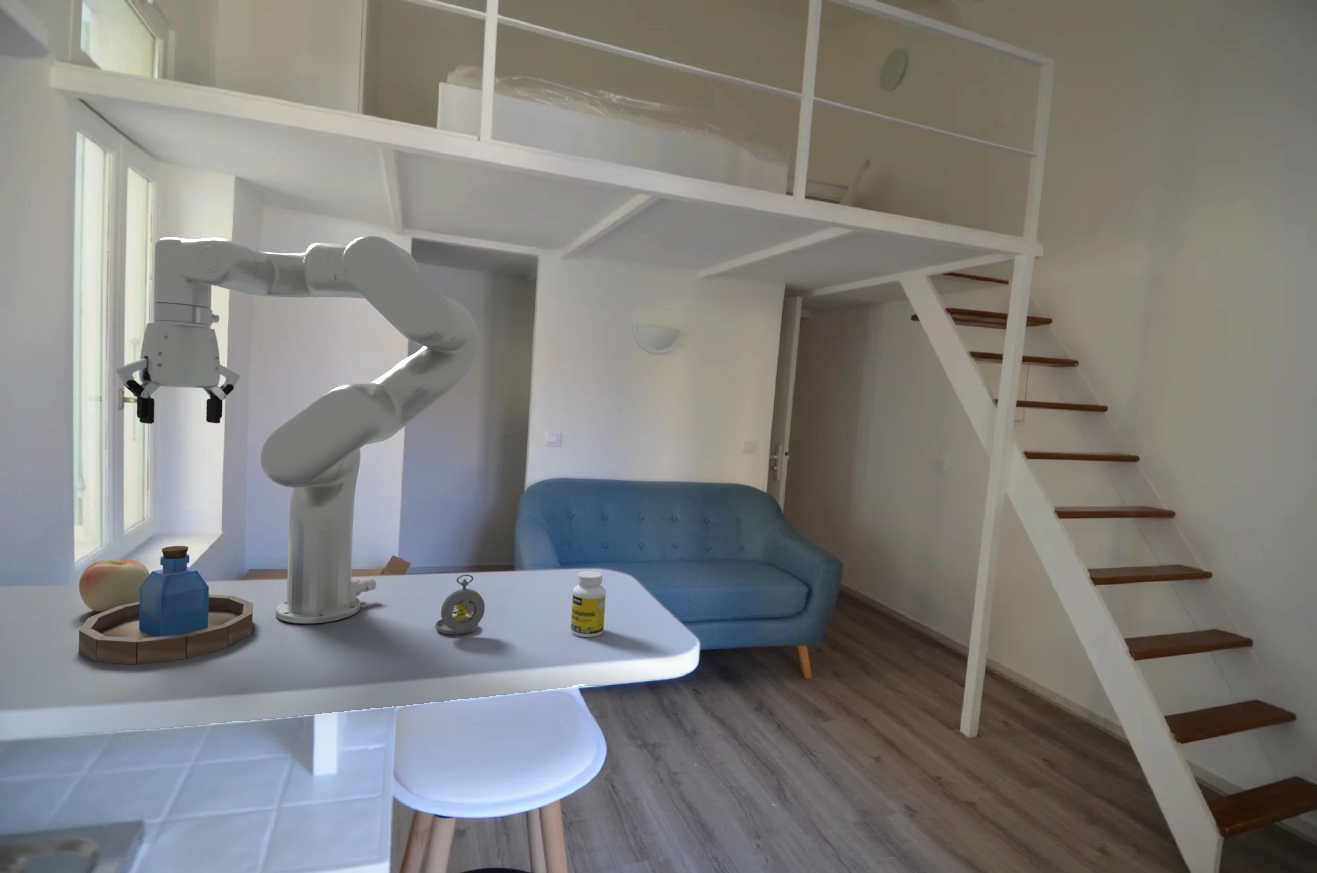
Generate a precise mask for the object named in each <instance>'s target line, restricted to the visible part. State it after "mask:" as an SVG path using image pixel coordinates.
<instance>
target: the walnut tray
mask: <svg viewBox="0 0 1317 873" xmlns="http://www.w3.org/2000/svg"><path fill="white" fill-rule="evenodd" d="M253 609H254V603H253V602H251V601H249V600H246V599H243V598H241V597H238V596H235V595H223V594H220V595H219V594H209V602H208V628H205V629H201V630H197V631H193V632H189V633H185V634H181V635H171V636H162V637H153V636H151V635H149V634H147V633H145V632H143V631H140V630H139V602H135V603H130V604H125V605H120V606H117V607H115V608H112V609H110V610H107V611H101V612H98V613H97V614H95V615H92V616H90V617H88V618H87V619H86V620H85V621H84V622H83V624H82V626H81V627H80V628H79V629H78V652H79V653H80V654H81V655H84V656H85V657H86V658H89V659H91V661H92V660H93V661H94V662H96V663H111V664H114V663H115V664H125V665H126V664H127V665H141V664H150V663H158V662H159V663H160V662H168V661H176V660H184V659H189V658H192V657H196V656H200V655H203V654H207V653H211V652H214V651H218V650H221V649H224V648H228V647H230V646H232V645H233V644H235V643H237V642H238V641H240V640H242V639H243V638H246V637H248V636H249V635H250V634H252V629H253V621H254V619H253V615H254V611H253Z"/></svg>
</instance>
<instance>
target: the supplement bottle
mask: <svg viewBox="0 0 1317 873" xmlns="http://www.w3.org/2000/svg"><path fill="white" fill-rule="evenodd" d="M577 583H578V584H577V585H575V586H574V587H573V590H572V595H571V596H572V600H571V616H570V632H571V633H572V634H573V635H574V636H577V637H581V638H595V637H599V636H600V635H602V634H603V633H604V630H605V629H604V625H605V609H606V593H607V591H606V588H605V587H603V586H602V585H601V584H603V574H602V572H599V571H595V570H583V571H580V572H578V573H577Z"/></svg>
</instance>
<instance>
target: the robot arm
mask: <svg viewBox="0 0 1317 873" xmlns="http://www.w3.org/2000/svg"><path fill="white" fill-rule="evenodd" d="M153 276H154V279H153V283H154V284H153V290H154V291H153V292H154V293H153V303H154V304H153V322H147V323H146V327H145V330H144V334H143V340H142V344H141V350H140V359H138V360H136V361H135V360H134V361H133V362H130V363H127V364H124V365H122V366H118V367H117V368H116V373H117V375H118V377H119V378H120V380H121V381H122V383H123V386H124V387H125V388H126V389H128V390H129V392H131V393H132V394H133V396H134V397H136V417H137V418H138V419H139V422H140V423H141V424H148V425H151V424H154V423H155V399H154V398H152V395H153V394H154V393H155V392H156V391H157V390H158V389H159V388H160V387H170V388H189V389H190V388H193V389H194V388H195V389H197V388H198V389H203V390H204V391H205V393H206V394H207V395H208V396H209V398H207V399H206V408H205V410H206V412H205V414H206V416H205V418H206V419H205V421H206V422H207V423H211V424H221V419H222V417H223V403H224V402H223V401H224V400H225V399H226V398H227V396H229V394H230V393H232V392H233V390H234V389H235V386H236V385H237V383H238V381H239V380H240V375H239V374H238V373H237V372H234V371H233V370H232V369H229V368H227V367H226V366H223V365H222V364H221V361H220V359H221V358H220V351H219V344H218V339H217V338H218V337H217V334H216V331H215V328H211V327H212V325H213V324H214V323H216V324H218V323H219V322H220V316H219V314H214V313H213V309H212V286H214V287H218V288H221V289H227V290H231V291H236V292H239V293H244V294H247V295H251V296H261V297H275V298H276V297H277V298H279V297H280V298H325V297H326V298H349V299H351V298H352V299H353V298H354V299H365V300H366V301H367V302H368V303H369V304H370V305H371V306H372V307H373V308H374V309H375V310H376V311H378V313H380V314H381V315H382V316H383V317H384V319H386V321H388V322H389V323H390V324H391V325H392V327H394V329H396V331H398V332H399V333H400V334H401V335H402V336H404V338H406V339H407V340H409V341H411V343H414V344H416V345H419V346H421V348H420V349H419V350H417V351H416V352H415V353H413V354H411V355H410V356H407V357H406V358H404V359H403V360H401V361H399V362H398V363H397V364H396V365H395V366H393V367H392V368H391V369H389V370H388V371H387V372H385V373H384V374H383V375H381V376H379V377H378V378H377V379H375V380H373V381H370V382H367V383H349V384H344V385H340V386H337V387H334V388H333V389H331V390H329V391H327V392H326V393H324V394H322V395H321V396H319V397H318V398H317V399H316V400H314V401H313V402H312V403H310V404H309V405H307V406H306V407H304V408H303V409H302V410H301V411H299V412H297V414H295V415H294V416H292V417H291V418H290V419H289V420H287V421H286V422H284V423H283V424H282V425H280V426H279V427H277V428H276V429H275V430H274V431H273V432H272V433H271V434H270V435H269V436H268V437H267V439H266V440H265V441H264V444H263V446H262V448H261V452H260V465H261V468H262V470H263V473H264V475H265V476H266V477H267V478H268V479H269V480H270V481H272V482H273V483H275V484H276V485H279V486H280V487H281V486H282V487H285V488H291V489H292V492H291V496H290V497H291V498H290V502H289V503H290V505H289V514H288V515H289V516H288V518H289V520H288V548H287V549H288V550H287V556H288V557H287V586H286V588H287V590H286V591H287V592H286V593H287V594H286V600H284V601H283V602H281V603H280V604H278V605H277V606H276V607H275V616H276V617H277V619H279V620H280V621H282V622H285V623H292V624H304V625H305V624H311V625H312V624H321V623H322V624H323V623H329V622H335V621H338V620H339V621H340V620H343V619H345V618H346V619H347V618H349V617H351V616H353V615H355V614H357V613H358V612H359V611H360V610H361V600H360V599H359V598H357V596H360V595H361V593H364V592H365V593H366V592H370V591H374V590H376V588H377V582H376V580H375V579H373V578H369V579H366V580H363V581H362V580H361V581H360V580H359V578H358V579H352V576H353V575H352V571H353V568H352V566H353V565H352V564H353V542H354V541H353V538H354V537H353V535H354V519H355V518H354V517H355V497H356V488H357V481H358V476H359V470H360V465H361V448H363V447H364V446H366V445H371V444H376V443H381V442H384V441H387V440H389V439H390V438H392V437H394V436H396V434H397V433H398V432H399V431H401V430H402V429H404V427H406V425H408V424H410V423H411V422H412V421H413V420H415V419H416V418H417V417H419V416H420V415H422V414H423V413H424V412H425V411H427V410H428V409H429V408H430V407H431V406H433V405H434V404H435V403H437V402H438V401H440V400H441V399H443V397H445V396H446V395H447V394H449V393H450V392H451V391H453V390H454V389H455V388H456V387H458V385H459V384H460V383H462V381H463V380H465V378H466V377H467V376H468V374H469V373H470V371H471V370H472V368H473V366H474V364H475V362H476V359H477V356H478V353H479V352H478V351H479V342H480V341H479V332H478V327H477V324H476V321H475V319H474V317H473V315H472V314H471V312H470V311H469V310H468V309H467V307H465V306H464V305H463V304H461V302H460V303H459V302H458V301H456V300H454V299H452V298H450V297H448V296H445V295H443V294H441V293H440V292H439V291H438V290H437V289H436V288H435V287H434V286H433V285H432V284H431V283H429V281H427V280H426V278H424V277H423V276H422V275H421V273H420V268H419V265H418V263H417V261H416V259H415V258H414V257H413V255H412V254H410V252H408V251H407V250H405V249H404V248H402V247H400V246H398V245H397V244H395V243H394V242H392V241H390V240H388V239H386V238H384V237H381V236H377V235H366V236H362V237H361V236H360V237H359V238H355V239H354V240H353V241H351V242H350V243H349V244H348V243H332V242H330V243H327V242H315V243H312V244H311V245H309V246H308V248H307V249H306V251H305V252H303V253H279V252H266V251H259V250H257V249H255V248H252V247H250V246H249V247H248V246H247V245H243V244H241V243H238V242H234V241H232V240H229V239H227V238H226V239H225V238H220V237H211V238H210V237H209V238H208V237H207V238H201V239H199V238H198V239H186V238H179V237H161V238H159V239H158V240H157V241H156V242H155V245H154V274H153ZM135 372H138V373H139V374H138V376H139V381H140V382H141V384H140V383H138V381H137V380H135V378H134V376H133V375H134V373H135ZM221 376H222V377H224V378H225V381H224V384H221V385H220V386H219V384H220V379H221Z"/></svg>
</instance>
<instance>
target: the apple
mask: <svg viewBox="0 0 1317 873" xmlns="http://www.w3.org/2000/svg"><path fill="white" fill-rule="evenodd" d="M149 575H150V571H149V569H148V568H147V567H146V566H145V565H144V564H143V563H142V562H140V561H137V560H133V559H105V560H104V559H102V560H97V561H94V562H93V563H91V564H90V565H88V566H87V567H86V568H85V569H84V571H83V572H82V574H81V576H80V577H79V583H78V588H79V589H78V590H79V595H80V597H81V599H82V601H83V604H85V606H86V607H87V608H88V609H91V611H94V612H98V613H102V612H104V611H107V610H110V609H112V608H115V607H117V606H120V605H125V604H130V603H135V602H139V593H140V587H141V585H142V584H143V583H144V581H145V580H146V579H147V577H148V576H149Z"/></svg>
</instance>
